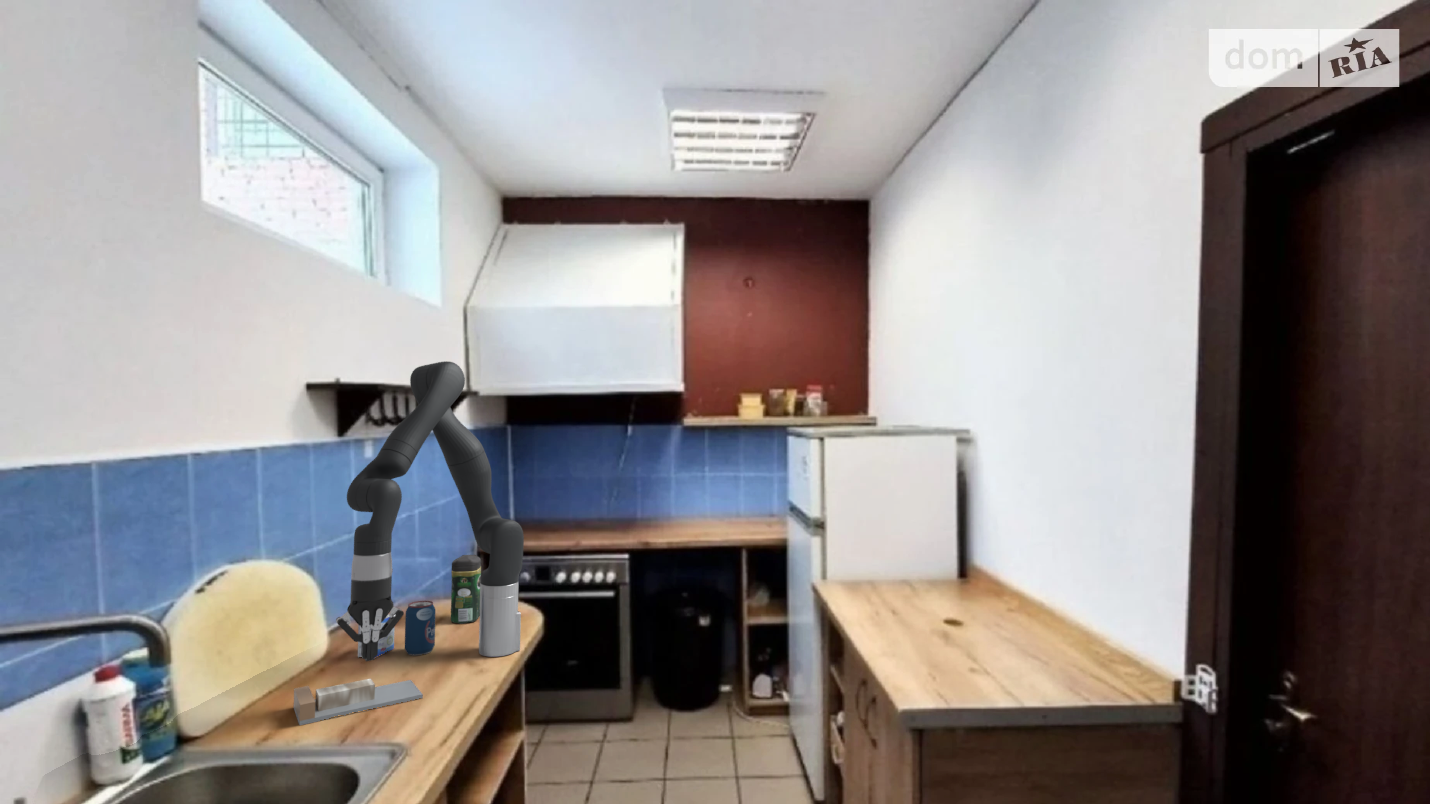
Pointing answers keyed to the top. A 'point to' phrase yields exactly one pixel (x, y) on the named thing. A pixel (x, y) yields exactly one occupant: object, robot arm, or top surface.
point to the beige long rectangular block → (344, 694)
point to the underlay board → (383, 697)
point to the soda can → (420, 628)
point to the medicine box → (383, 643)
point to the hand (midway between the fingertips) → (369, 659)
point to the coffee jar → (465, 589)
